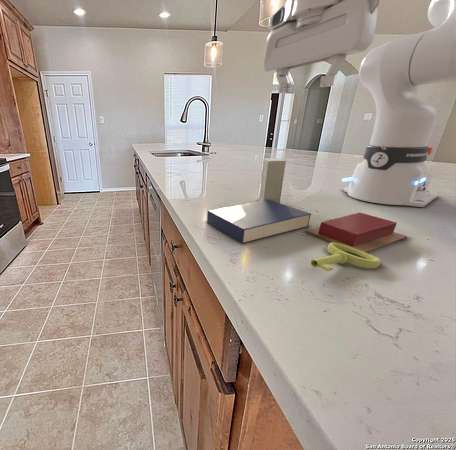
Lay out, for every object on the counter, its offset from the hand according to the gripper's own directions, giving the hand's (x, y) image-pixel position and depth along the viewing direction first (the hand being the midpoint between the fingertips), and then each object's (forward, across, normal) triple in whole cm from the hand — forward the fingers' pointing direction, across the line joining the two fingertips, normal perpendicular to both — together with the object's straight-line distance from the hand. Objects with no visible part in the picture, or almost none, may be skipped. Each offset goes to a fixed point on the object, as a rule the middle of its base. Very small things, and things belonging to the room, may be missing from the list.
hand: (303, 90), depth 50 cm
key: (+27, -20, +10) cm, 35 cm away
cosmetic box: (+27, +8, -4) cm, 29 cm away
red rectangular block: (+27, -15, -3) cm, 31 cm away
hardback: (+27, -2, +10) cm, 29 cm away
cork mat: (+27, -15, -3) cm, 31 cm away
